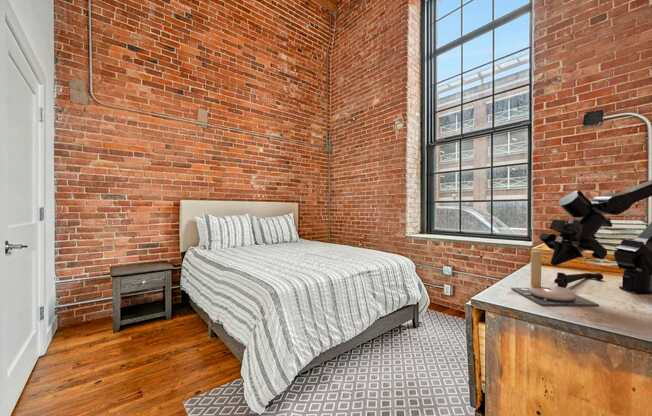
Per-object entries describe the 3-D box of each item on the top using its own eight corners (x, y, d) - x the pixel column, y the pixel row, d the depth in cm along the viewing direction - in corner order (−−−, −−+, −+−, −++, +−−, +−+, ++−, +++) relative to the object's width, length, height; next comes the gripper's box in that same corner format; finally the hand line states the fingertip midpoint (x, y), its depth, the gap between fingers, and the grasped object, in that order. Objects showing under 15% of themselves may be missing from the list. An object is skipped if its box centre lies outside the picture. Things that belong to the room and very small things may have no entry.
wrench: (604, 285, 106) (572, 292, 90) (586, 282, 110) (552, 289, 94) (604, 270, 106) (572, 275, 90) (585, 268, 111) (552, 272, 94)
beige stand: (541, 286, 97) (542, 248, 96) (583, 296, 87) (583, 254, 86) (521, 292, 92) (521, 251, 91) (562, 303, 82) (563, 258, 81)
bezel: (559, 289, 96) (559, 286, 96) (599, 306, 81) (599, 303, 81) (510, 289, 97) (510, 286, 97) (540, 305, 82) (540, 302, 82)
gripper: (543, 209, 102) (513, 242, 101) (598, 211, 83) (561, 252, 83) (565, 231, 103) (535, 264, 102) (623, 238, 84) (587, 279, 84)
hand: (552, 264), depth 93 cm, fingers closed
